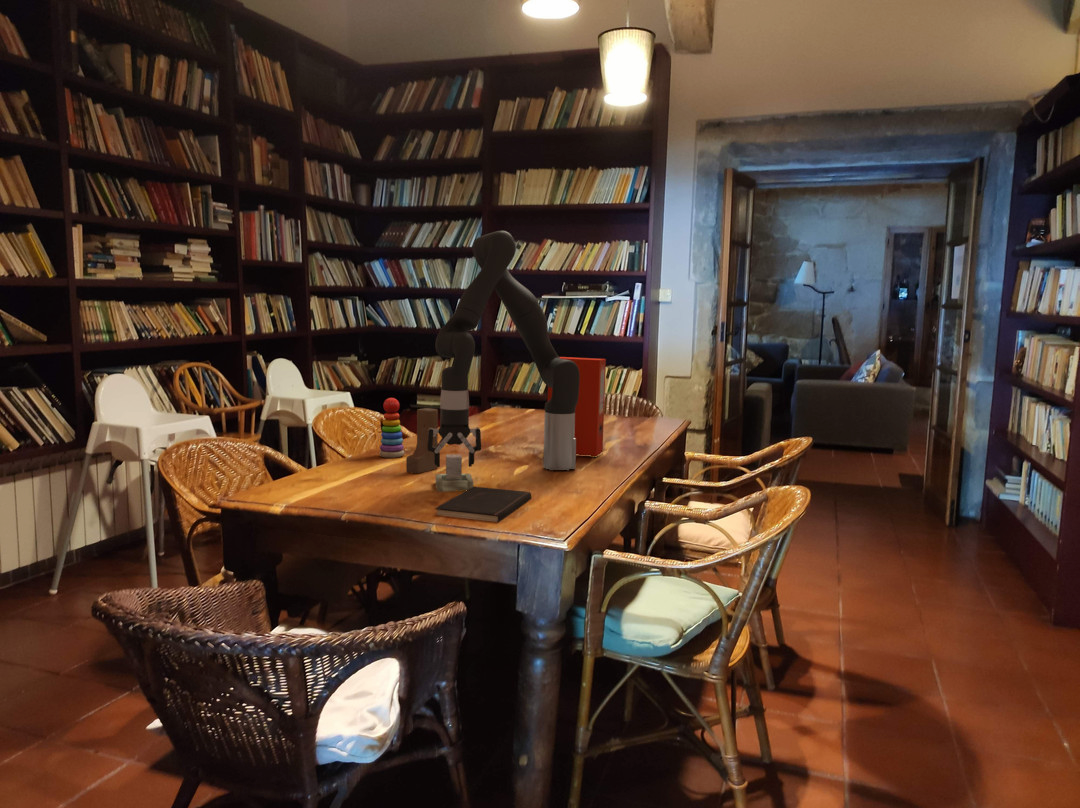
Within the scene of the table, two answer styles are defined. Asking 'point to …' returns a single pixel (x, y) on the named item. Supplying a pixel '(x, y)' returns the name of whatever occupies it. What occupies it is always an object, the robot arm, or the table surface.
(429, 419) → the wooden block
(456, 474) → the gray rectangular block
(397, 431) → the stacking toy
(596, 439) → the file binder
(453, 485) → the grey shallow square tray
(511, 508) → the hardcover book
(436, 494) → the table surface
